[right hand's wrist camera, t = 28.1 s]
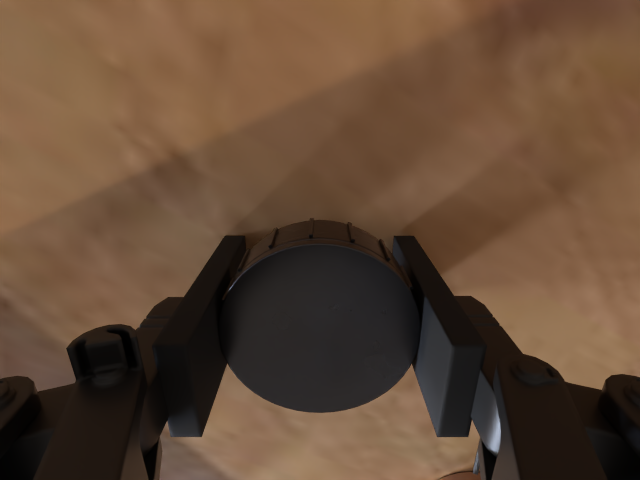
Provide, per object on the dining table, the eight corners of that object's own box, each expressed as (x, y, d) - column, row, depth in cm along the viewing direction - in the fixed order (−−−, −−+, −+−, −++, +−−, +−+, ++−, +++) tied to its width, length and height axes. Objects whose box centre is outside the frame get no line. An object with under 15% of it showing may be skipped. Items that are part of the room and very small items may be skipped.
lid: (230, 362, 13) (215, 405, 11) (234, 208, 11) (217, 230, 9) (389, 377, 13) (400, 421, 12) (424, 229, 11) (444, 255, 9)
